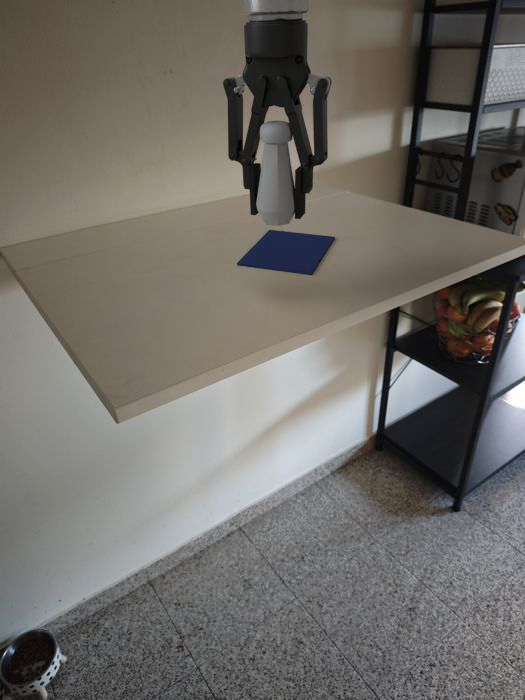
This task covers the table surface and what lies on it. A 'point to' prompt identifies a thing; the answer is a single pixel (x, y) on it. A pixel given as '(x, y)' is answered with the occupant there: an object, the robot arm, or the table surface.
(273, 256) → the cloth
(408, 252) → the table surface
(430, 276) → the table surface
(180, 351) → the table surface
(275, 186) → the salt shaker
